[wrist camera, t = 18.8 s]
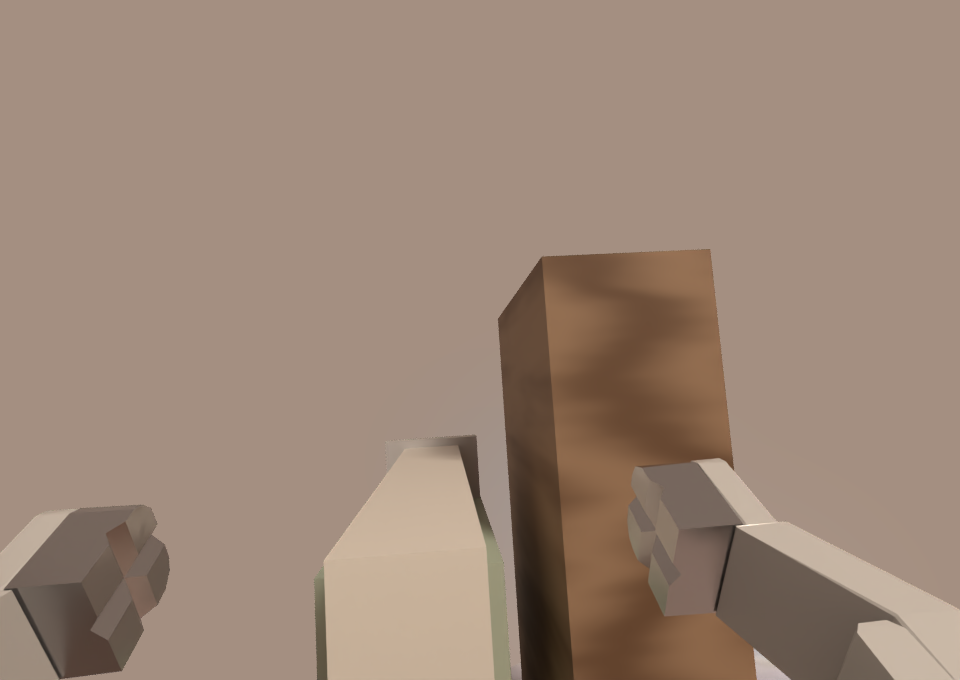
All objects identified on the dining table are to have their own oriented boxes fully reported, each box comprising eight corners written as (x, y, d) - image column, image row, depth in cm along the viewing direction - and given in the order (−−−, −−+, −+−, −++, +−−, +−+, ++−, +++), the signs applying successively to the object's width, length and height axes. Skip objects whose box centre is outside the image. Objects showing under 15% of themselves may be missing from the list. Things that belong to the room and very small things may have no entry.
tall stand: (607, 1117, 16) (541, 256, 18) (527, 764, 31) (498, 318, 33) (800, 1084, 16) (710, 249, 19) (629, 753, 31) (592, 313, 34)
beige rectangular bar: (267, 741, 9) (263, 541, 9) (390, 500, 29) (387, 440, 29) (555, 710, 9) (540, 518, 9) (478, 493, 29) (475, 434, 29)
